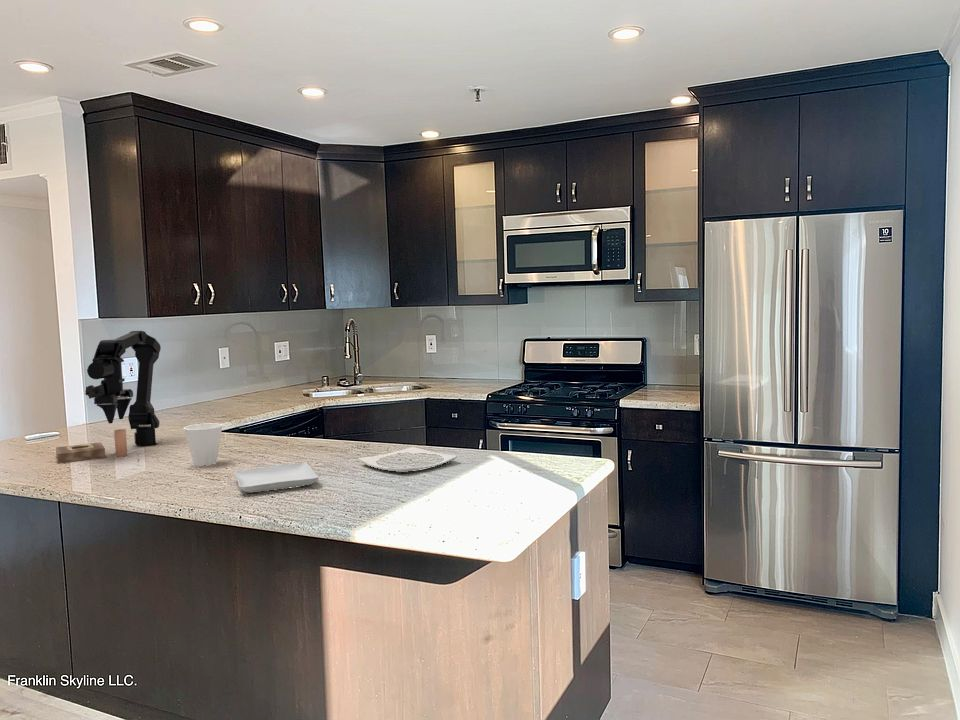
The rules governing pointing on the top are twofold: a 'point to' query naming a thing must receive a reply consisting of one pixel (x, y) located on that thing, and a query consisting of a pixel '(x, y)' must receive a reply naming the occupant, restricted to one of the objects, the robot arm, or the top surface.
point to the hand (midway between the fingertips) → (115, 421)
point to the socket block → (80, 452)
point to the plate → (372, 460)
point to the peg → (120, 442)
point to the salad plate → (275, 477)
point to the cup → (203, 442)
